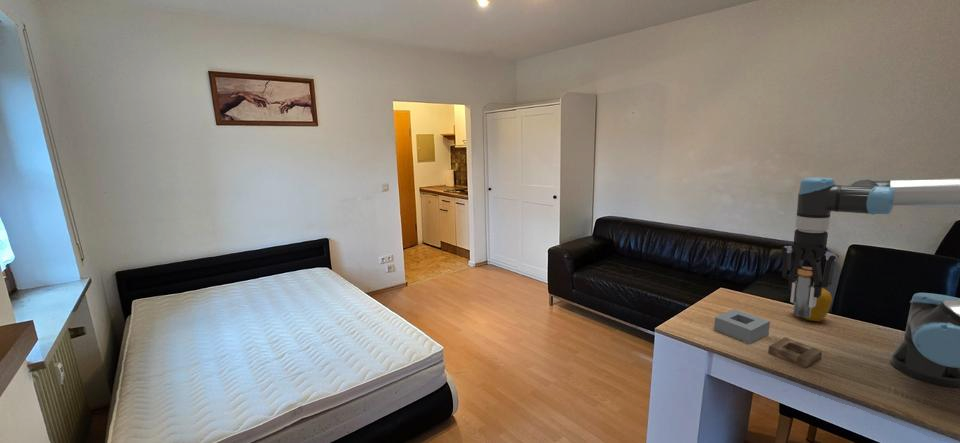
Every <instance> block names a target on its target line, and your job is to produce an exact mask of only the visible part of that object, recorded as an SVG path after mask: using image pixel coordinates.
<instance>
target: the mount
mask: <svg viewBox="0 0 960 443" xmlns="http://www.w3.org/2000/svg"><path fill="white" fill-rule="evenodd" d="M767 351H768V354H770V355H772V356H775V357H777V358H780V359H782V360H785V361H788V362H790V363H793V364H795V365H798V366H800V367H803V368H805V369H806V368H808V367H809V366H811V365H813V364H814V363H816V362H817V361H819V360H821V358H822V356H823V350H822V349H818V348H816V347H814V346H810V345H809V344H808V345H807V344H804V343H802V342H799V341H797V340H794V339H791V338H788V337H783V338H781V339H779V340H777V341H776V342H774V343H772V344H770V345H768V350H767Z"/></svg>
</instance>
